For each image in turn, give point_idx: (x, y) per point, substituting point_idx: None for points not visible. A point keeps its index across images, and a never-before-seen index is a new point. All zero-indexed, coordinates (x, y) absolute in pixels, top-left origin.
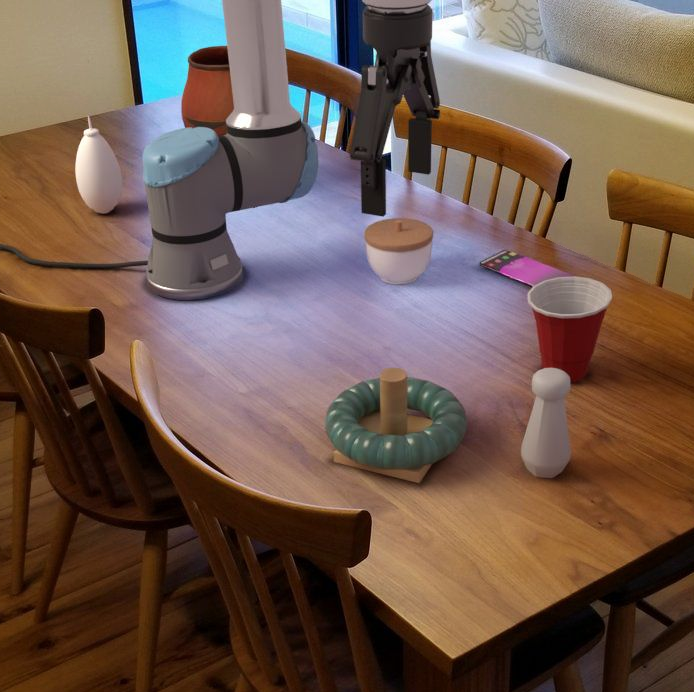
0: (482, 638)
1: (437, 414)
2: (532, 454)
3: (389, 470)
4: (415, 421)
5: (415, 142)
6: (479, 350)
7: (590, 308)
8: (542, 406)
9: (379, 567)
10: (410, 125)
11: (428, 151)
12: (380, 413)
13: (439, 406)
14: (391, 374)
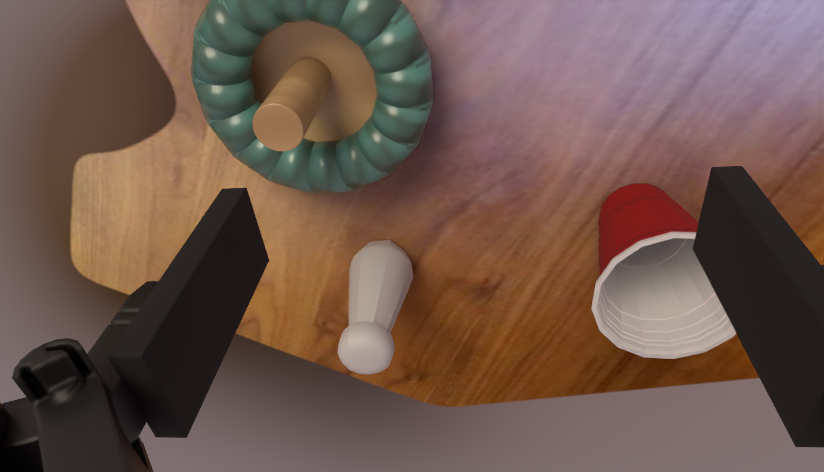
0: (108, 285)
1: (341, 153)
2: (350, 272)
3: None
4: (369, 87)
5: (764, 289)
6: (673, 65)
7: (706, 291)
8: (349, 325)
9: (104, 168)
10: (818, 335)
11: (729, 318)
12: None
13: (358, 150)
14: (275, 125)
